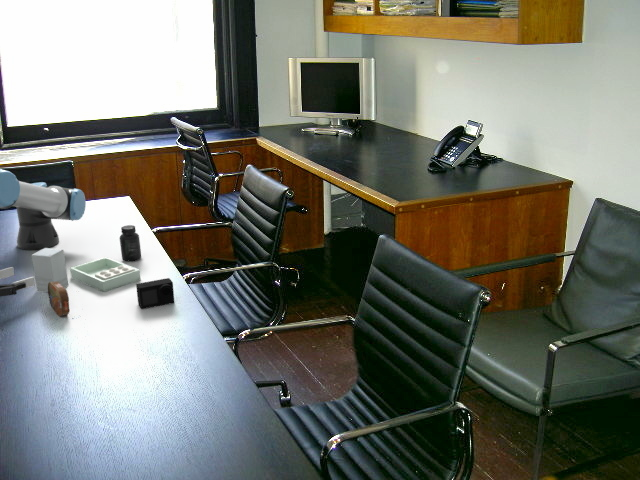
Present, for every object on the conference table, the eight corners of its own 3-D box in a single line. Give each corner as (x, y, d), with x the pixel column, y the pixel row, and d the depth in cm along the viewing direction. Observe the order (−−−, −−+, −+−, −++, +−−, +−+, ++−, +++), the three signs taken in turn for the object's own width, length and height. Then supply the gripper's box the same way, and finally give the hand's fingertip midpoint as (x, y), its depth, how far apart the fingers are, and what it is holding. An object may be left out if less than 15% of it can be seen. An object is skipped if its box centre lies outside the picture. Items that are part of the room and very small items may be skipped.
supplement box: (69, 285, 259) (64, 249, 255) (55, 293, 252) (49, 256, 248) (50, 283, 261) (45, 247, 257) (36, 291, 255) (30, 254, 251)
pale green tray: (71, 277, 265) (70, 267, 264) (107, 266, 275) (106, 257, 274) (103, 292, 252) (102, 281, 251) (140, 279, 262) (139, 269, 261)
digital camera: (142, 310, 237) (139, 289, 235) (137, 304, 242) (135, 283, 240) (175, 304, 241) (173, 283, 239) (171, 298, 246) (169, 277, 244)
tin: (48, 304, 244) (44, 278, 241) (58, 302, 246) (55, 276, 243) (62, 320, 232) (58, 294, 229) (72, 318, 234) (69, 291, 231)
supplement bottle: (144, 255, 285) (140, 224, 281) (138, 262, 278) (134, 230, 275) (125, 255, 286) (122, 224, 282) (119, 262, 279) (115, 229, 275)
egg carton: (96, 283, 258) (94, 271, 256) (124, 274, 265) (123, 262, 264) (106, 288, 254) (104, 275, 253) (134, 278, 261) (133, 266, 260)
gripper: (-60, 297, 243) (6, 277, 257) (-24, 318, 227) (44, 296, 241) (-64, 274, 241) (3, 256, 255) (-28, 294, 224) (41, 273, 239)
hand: (23, 275), depth 248 cm, fingers open, 13 cm apart
